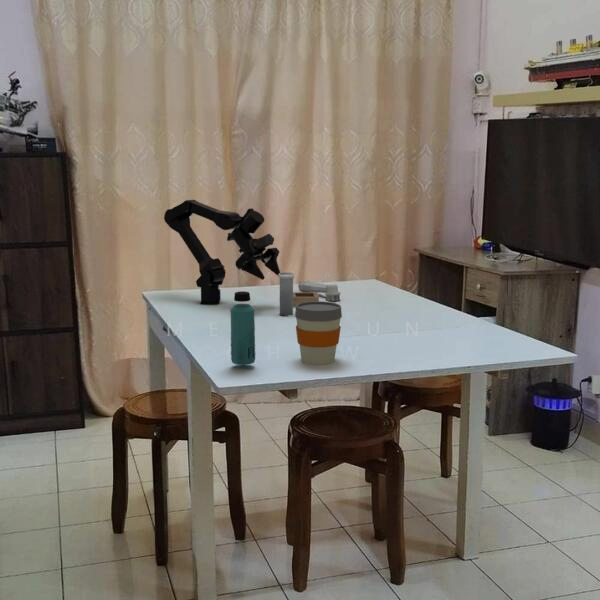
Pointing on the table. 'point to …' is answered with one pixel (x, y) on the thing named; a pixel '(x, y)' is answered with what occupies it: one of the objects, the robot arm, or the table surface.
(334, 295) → the white elongated device
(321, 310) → the reusable coffee cup
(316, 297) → the socket flange
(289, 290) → the tube
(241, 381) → the table surface
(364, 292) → the table surface
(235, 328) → the beverage bottle
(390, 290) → the table surface
